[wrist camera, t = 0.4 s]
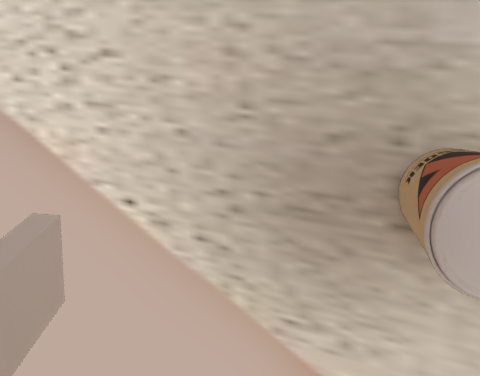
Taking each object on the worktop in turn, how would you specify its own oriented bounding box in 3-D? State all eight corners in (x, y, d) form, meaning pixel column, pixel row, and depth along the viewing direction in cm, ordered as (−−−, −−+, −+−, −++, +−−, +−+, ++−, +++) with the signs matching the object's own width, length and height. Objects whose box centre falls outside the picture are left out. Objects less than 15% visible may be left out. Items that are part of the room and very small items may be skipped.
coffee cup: (474, 118, 37) (559, 130, 25) (518, 215, 38) (618, 270, 26) (370, 169, 39) (404, 202, 27) (414, 260, 40) (465, 329, 28)
